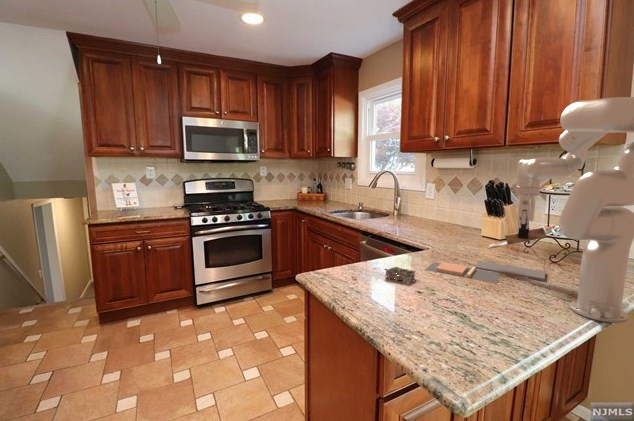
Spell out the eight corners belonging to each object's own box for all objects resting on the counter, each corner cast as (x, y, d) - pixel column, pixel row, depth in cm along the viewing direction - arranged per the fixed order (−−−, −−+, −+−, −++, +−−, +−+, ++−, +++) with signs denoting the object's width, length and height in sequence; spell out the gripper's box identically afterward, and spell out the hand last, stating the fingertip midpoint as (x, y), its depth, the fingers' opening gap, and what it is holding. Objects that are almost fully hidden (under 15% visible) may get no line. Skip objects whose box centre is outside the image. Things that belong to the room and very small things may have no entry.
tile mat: (495, 284, 112) (496, 280, 112) (424, 270, 128) (424, 266, 128) (500, 274, 123) (501, 270, 122) (434, 263, 138) (434, 259, 138)
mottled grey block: (382, 278, 121) (383, 268, 120) (392, 273, 126) (392, 263, 126) (408, 285, 114) (408, 274, 113) (417, 279, 119) (417, 269, 119)
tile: (462, 272, 120) (436, 267, 126) (462, 275, 121) (435, 270, 127) (467, 266, 128) (442, 261, 134) (467, 268, 128) (442, 264, 134)
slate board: (544, 281, 115) (544, 278, 115) (474, 269, 130) (474, 266, 130) (545, 273, 123) (545, 271, 123) (478, 263, 138) (478, 260, 137)
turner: (546, 235, 120) (543, 226, 120) (546, 238, 115) (542, 229, 115) (490, 245, 132) (488, 237, 132) (488, 248, 127) (485, 240, 128)
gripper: (538, 193, 111) (533, 243, 113) (539, 190, 123) (535, 235, 126) (513, 192, 115) (509, 240, 118) (517, 189, 128) (514, 233, 131)
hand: (523, 237), depth 122 cm, fingers closed on turner, 2 cm apart
